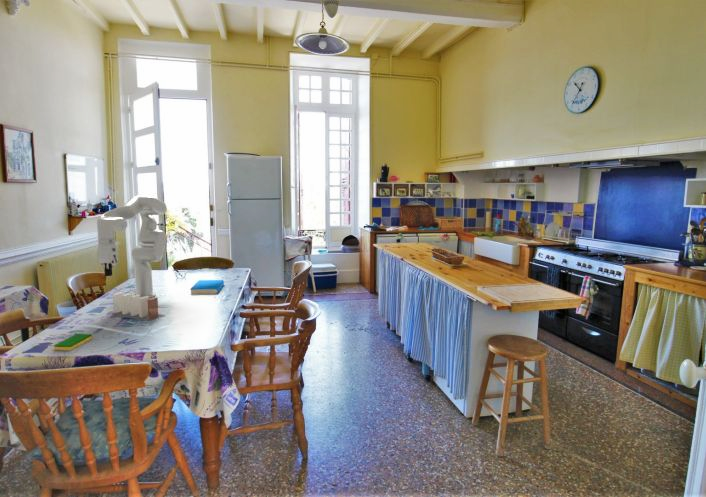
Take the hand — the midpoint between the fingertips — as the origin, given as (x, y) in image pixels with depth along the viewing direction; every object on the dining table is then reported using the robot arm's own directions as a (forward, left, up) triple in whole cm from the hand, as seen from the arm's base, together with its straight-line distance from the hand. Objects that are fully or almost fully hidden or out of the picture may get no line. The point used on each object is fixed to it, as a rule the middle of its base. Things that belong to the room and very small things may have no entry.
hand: (108, 275), depth 220 cm
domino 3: (+18, 0, -19) cm, 26 cm away
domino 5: (+30, 0, -19) cm, 36 cm away
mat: (+18, 0, -20) cm, 27 cm away
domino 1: (+6, 0, -19) cm, 20 cm away
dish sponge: (+26, -39, -21) cm, 51 cm away
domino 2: (+12, 0, -19) cm, 23 cm away
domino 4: (+24, 0, -19) cm, 31 cm away
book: (+12, +63, -21) cm, 67 cm away
